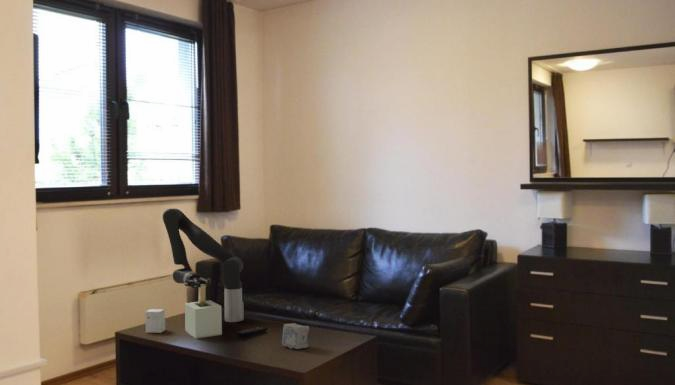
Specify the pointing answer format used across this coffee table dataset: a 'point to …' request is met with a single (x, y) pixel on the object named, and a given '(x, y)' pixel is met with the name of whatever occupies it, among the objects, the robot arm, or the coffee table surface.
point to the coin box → (203, 319)
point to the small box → (155, 320)
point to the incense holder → (295, 336)
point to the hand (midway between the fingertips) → (203, 284)
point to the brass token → (201, 295)
